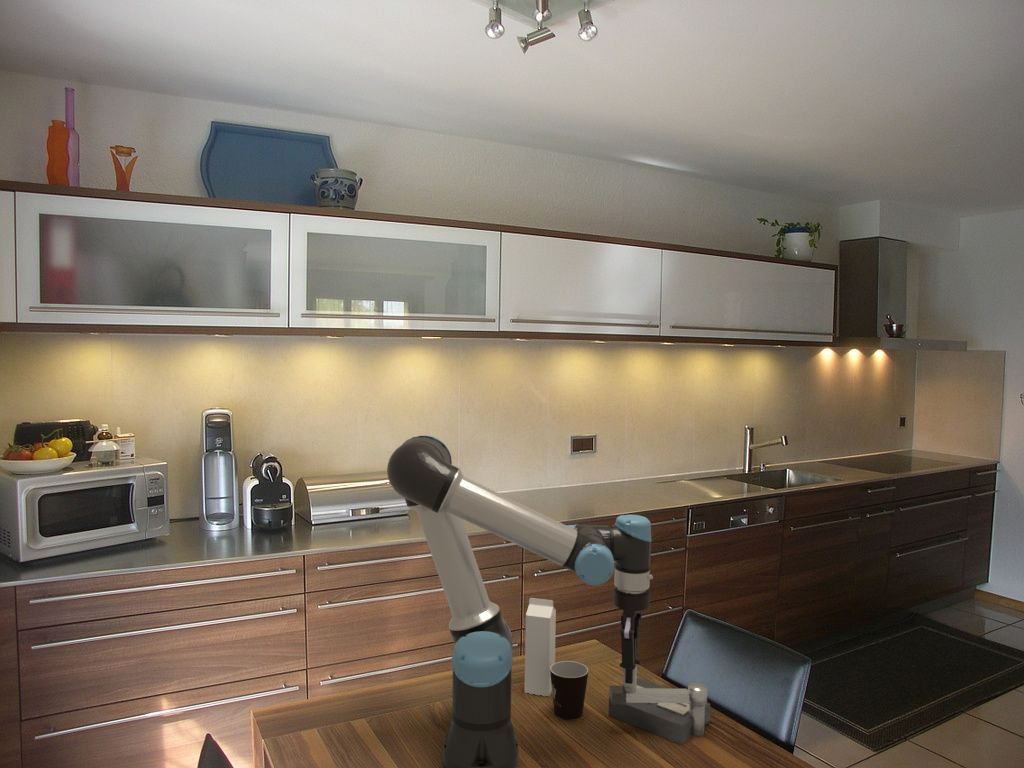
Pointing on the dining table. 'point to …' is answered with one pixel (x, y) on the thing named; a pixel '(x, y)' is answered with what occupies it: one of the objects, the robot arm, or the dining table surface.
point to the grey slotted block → (664, 716)
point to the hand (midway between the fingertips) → (629, 695)
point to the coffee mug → (568, 688)
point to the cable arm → (659, 695)
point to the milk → (539, 646)
